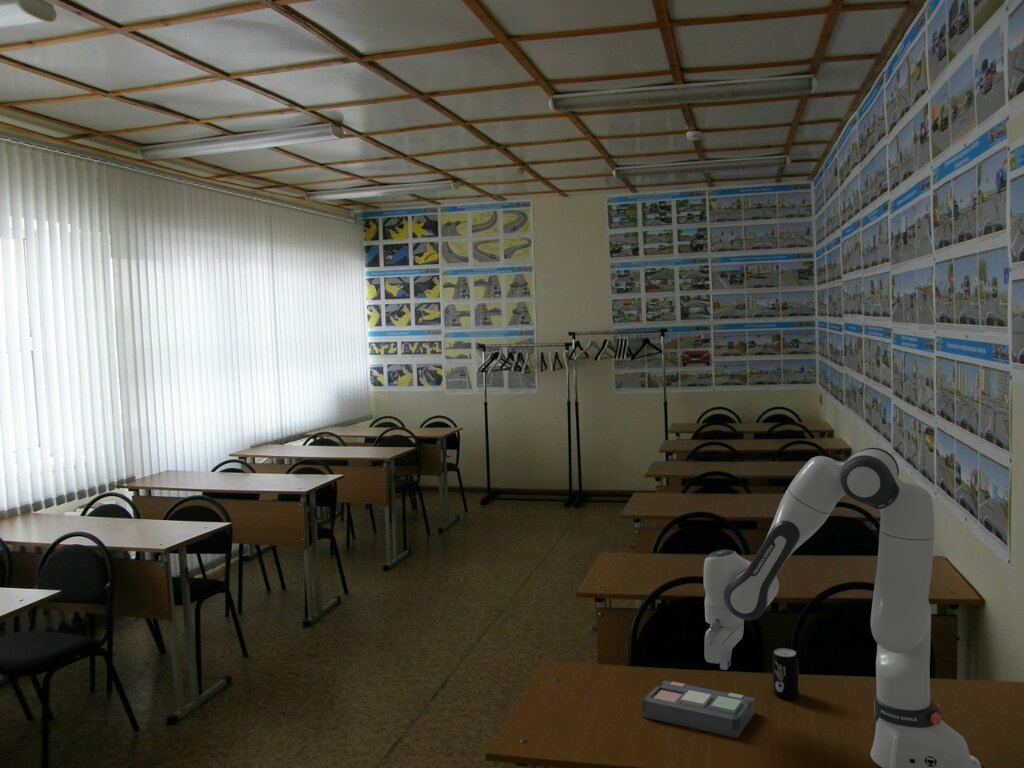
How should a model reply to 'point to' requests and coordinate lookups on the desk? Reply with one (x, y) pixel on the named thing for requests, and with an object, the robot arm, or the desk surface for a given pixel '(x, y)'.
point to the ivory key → (696, 699)
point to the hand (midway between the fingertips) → (725, 667)
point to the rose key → (667, 695)
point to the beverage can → (785, 673)
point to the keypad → (698, 710)
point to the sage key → (726, 705)
